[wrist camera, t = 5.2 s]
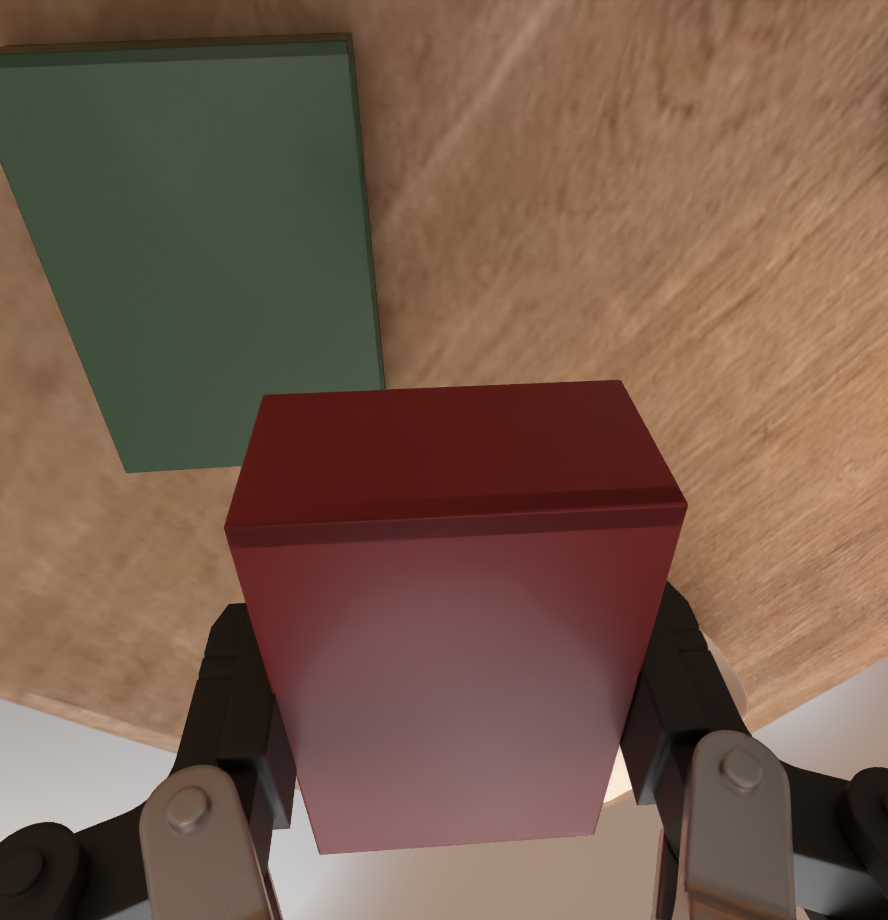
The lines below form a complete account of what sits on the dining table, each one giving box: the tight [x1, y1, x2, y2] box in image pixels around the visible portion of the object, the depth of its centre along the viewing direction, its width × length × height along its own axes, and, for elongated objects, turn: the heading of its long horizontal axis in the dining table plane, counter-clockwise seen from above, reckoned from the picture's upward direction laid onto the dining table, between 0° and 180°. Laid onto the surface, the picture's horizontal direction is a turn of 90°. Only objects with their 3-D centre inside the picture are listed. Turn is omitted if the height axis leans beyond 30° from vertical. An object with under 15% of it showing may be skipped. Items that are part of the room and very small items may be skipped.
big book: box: [0, 32, 386, 473], centre depth 24 cm, size 15×11×3 cm
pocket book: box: [224, 380, 688, 855], centre depth 12 cm, size 9×6×3 cm, turn 1°
